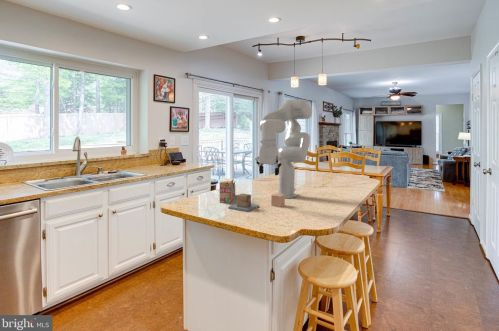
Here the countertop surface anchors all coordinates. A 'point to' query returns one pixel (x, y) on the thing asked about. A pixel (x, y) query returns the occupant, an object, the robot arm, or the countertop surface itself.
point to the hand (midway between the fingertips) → (269, 174)
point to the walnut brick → (244, 200)
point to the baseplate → (243, 207)
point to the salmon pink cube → (278, 200)
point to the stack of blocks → (227, 190)
